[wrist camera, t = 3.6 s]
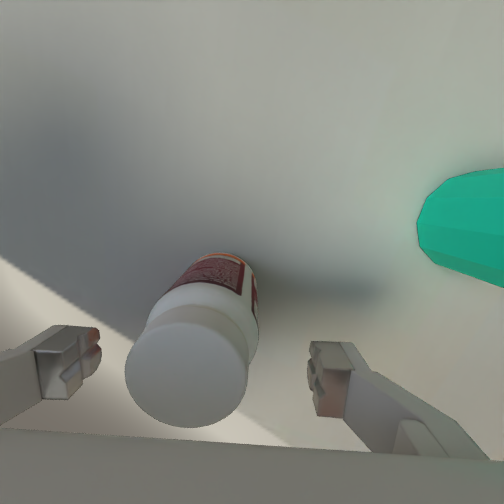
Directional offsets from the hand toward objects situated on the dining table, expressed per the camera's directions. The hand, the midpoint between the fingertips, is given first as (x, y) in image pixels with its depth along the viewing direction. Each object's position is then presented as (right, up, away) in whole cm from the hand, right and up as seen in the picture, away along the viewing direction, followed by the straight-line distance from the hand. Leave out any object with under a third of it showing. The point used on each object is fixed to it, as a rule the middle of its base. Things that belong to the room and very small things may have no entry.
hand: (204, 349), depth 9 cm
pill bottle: (0, +2, +7) cm, 7 cm away
